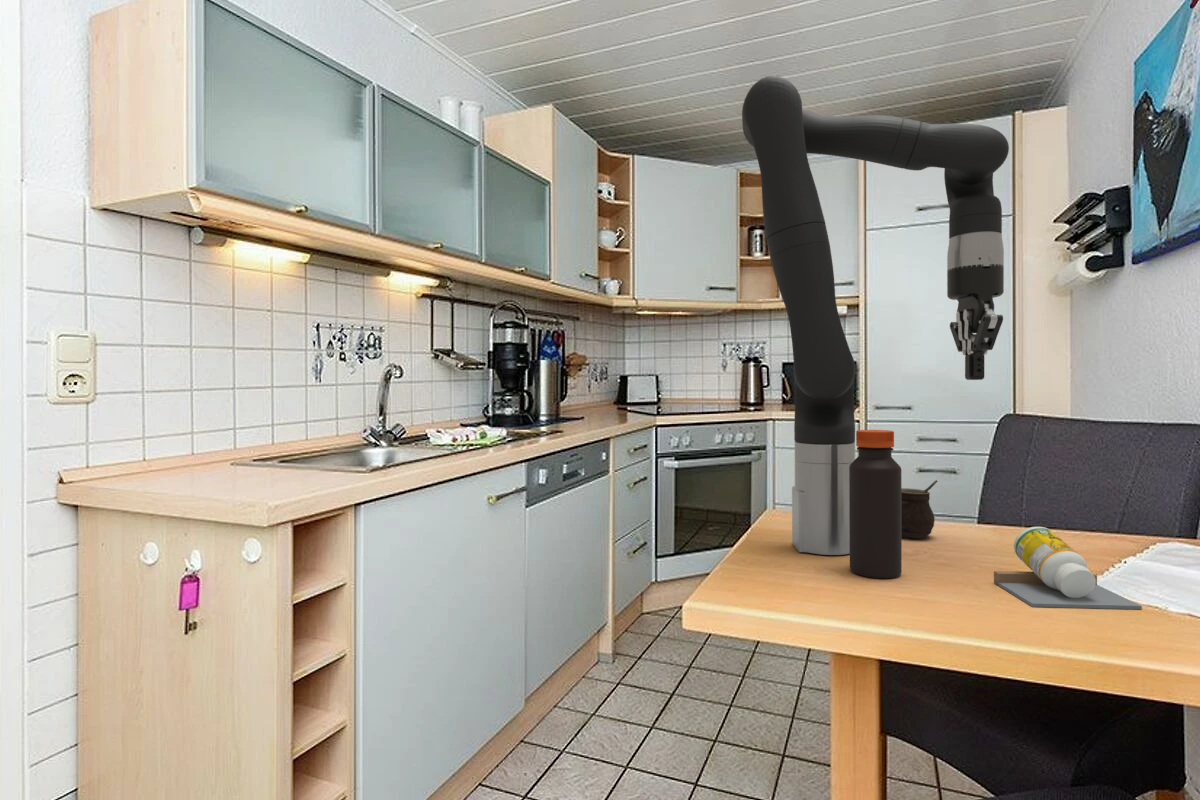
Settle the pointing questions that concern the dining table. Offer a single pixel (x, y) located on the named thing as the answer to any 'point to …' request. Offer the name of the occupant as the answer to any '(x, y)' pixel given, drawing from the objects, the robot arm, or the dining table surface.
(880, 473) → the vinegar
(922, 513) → the mate gourd
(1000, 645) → the dining table surface
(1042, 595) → the plate
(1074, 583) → the supplement bottle
